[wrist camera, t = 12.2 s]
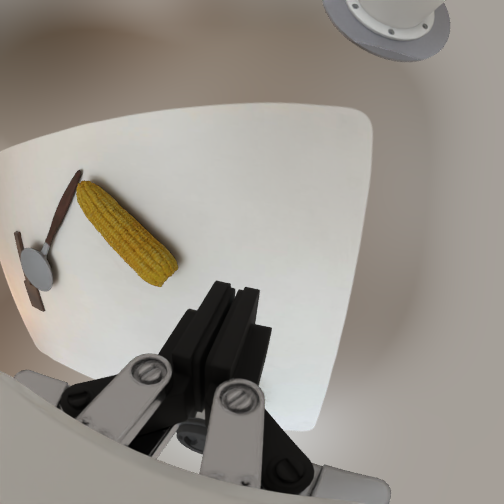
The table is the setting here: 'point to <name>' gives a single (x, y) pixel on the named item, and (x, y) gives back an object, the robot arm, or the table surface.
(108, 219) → the food
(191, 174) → the table surface
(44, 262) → the spoon
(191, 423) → the coffee cup
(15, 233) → the spatula
